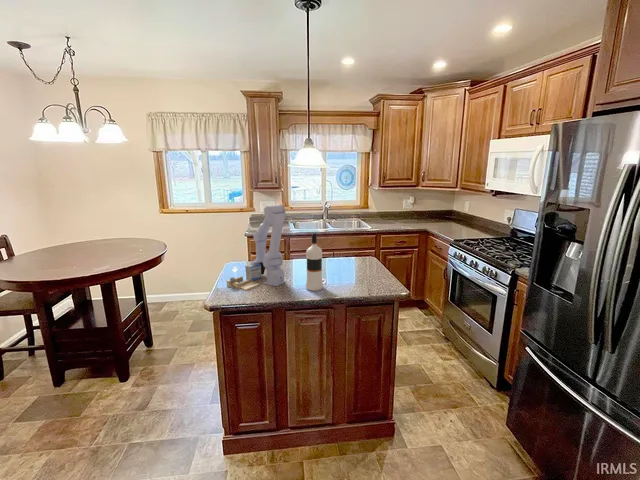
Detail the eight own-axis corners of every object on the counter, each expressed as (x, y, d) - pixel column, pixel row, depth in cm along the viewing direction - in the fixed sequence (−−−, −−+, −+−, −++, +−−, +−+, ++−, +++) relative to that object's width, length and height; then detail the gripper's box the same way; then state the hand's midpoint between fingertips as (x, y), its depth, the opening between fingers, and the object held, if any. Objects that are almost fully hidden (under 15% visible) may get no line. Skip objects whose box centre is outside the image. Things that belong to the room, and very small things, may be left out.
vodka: (313, 292, 165) (313, 236, 159) (302, 288, 172) (301, 233, 165) (326, 288, 172) (326, 233, 165) (315, 283, 178) (314, 230, 171)
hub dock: (259, 285, 176) (259, 276, 175) (244, 291, 167) (243, 282, 166) (241, 280, 184) (241, 271, 183) (226, 286, 175) (225, 277, 174)
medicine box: (251, 281, 182) (250, 267, 180) (245, 280, 184) (245, 265, 182) (261, 277, 188) (260, 263, 186) (256, 276, 190) (255, 262, 188)
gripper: (264, 248, 196) (265, 269, 199) (246, 253, 185) (248, 276, 188) (273, 250, 192) (274, 271, 195) (255, 255, 181) (256, 278, 184)
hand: (262, 274), depth 191 cm, fingers closed
